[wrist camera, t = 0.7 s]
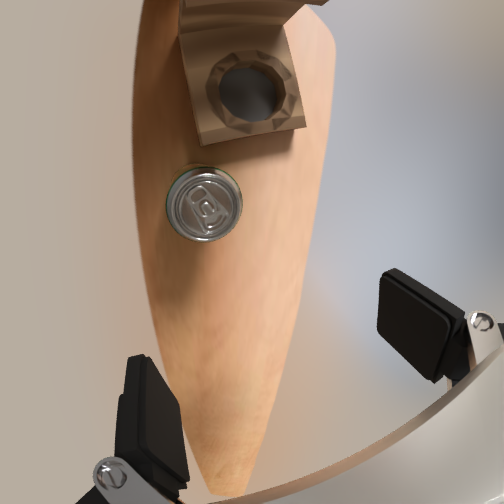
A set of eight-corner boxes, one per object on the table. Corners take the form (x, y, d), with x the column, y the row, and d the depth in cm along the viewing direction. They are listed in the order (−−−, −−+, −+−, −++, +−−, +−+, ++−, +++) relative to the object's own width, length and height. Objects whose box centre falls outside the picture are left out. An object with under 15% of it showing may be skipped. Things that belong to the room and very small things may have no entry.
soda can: (188, 220, 28) (196, 262, 17) (161, 181, 26) (148, 199, 15) (227, 193, 28) (261, 218, 17) (202, 153, 26) (218, 150, 15)
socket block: (177, 34, 21) (182, -28, 10) (270, 25, 22) (319, -26, 12) (200, 146, 26) (216, 139, 15) (294, 129, 28) (360, 119, 17)
